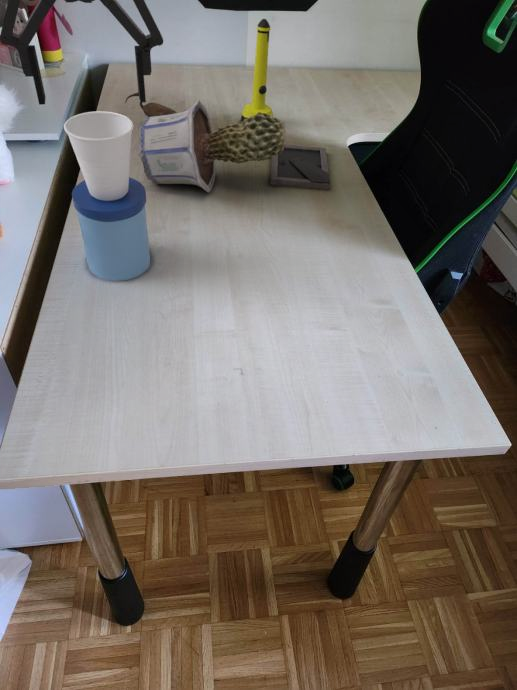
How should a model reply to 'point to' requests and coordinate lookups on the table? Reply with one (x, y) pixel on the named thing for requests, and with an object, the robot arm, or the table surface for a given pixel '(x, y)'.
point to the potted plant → (203, 145)
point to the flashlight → (259, 74)
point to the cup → (102, 151)
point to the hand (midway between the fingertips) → (93, 100)
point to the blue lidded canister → (114, 232)
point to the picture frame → (300, 168)
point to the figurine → (153, 108)
